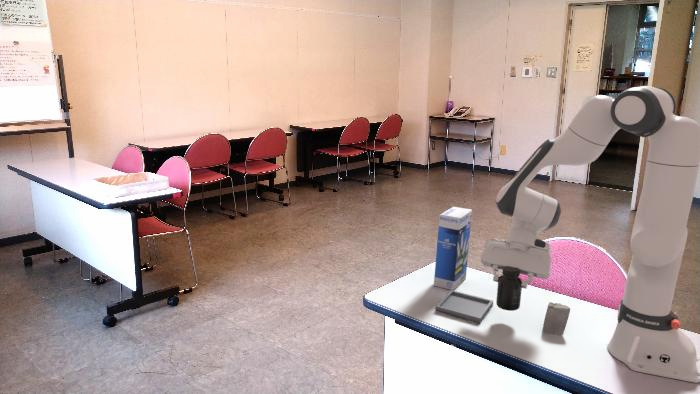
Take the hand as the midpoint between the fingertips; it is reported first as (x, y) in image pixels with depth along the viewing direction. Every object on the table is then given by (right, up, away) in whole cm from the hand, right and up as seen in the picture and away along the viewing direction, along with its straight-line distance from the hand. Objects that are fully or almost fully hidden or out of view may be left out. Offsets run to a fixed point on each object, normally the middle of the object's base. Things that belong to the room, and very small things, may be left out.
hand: (509, 284), depth 154 cm
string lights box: (-12, -4, +30) cm, 33 cm away
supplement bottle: (0, -7, +2) cm, 8 cm away
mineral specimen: (+13, -13, 0) cm, 18 cm away
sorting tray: (-11, -9, +11) cm, 18 cm away
